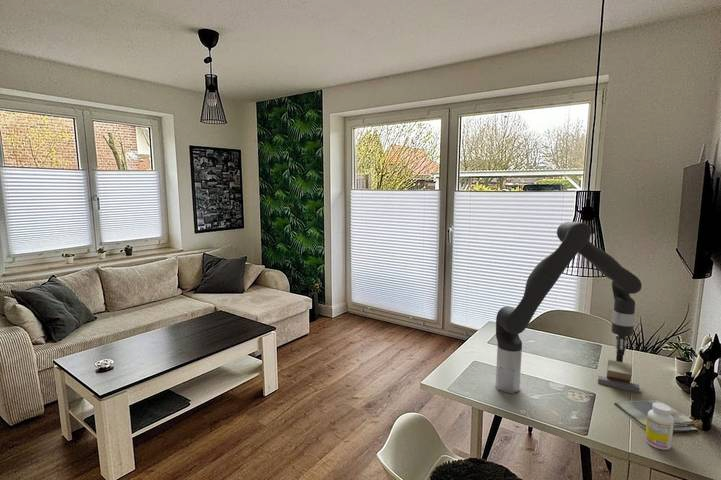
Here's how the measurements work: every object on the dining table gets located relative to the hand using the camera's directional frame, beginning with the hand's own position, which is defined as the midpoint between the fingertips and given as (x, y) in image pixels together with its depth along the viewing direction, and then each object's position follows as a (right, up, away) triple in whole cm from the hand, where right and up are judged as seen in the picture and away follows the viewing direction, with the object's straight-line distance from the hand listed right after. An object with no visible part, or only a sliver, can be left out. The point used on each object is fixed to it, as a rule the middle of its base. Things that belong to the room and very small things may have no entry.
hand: (619, 362), depth 160 cm
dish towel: (-3, -13, -24) cm, 27 cm away
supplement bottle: (-13, -14, -38) cm, 42 cm away
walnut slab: (+1, -7, +2) cm, 7 cm away
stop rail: (-2, -9, -2) cm, 10 cm away
